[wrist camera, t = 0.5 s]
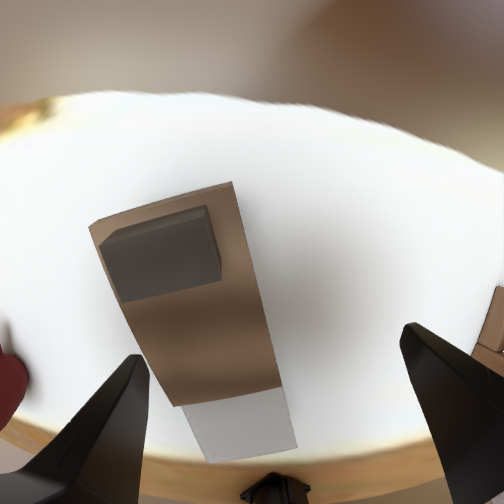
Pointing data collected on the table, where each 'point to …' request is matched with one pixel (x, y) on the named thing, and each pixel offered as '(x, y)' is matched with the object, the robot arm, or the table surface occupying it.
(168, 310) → the plank
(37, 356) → the table surface
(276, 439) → the gray rectangular block
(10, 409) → the mug
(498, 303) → the wooden block
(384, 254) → the table surface
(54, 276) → the table surface
